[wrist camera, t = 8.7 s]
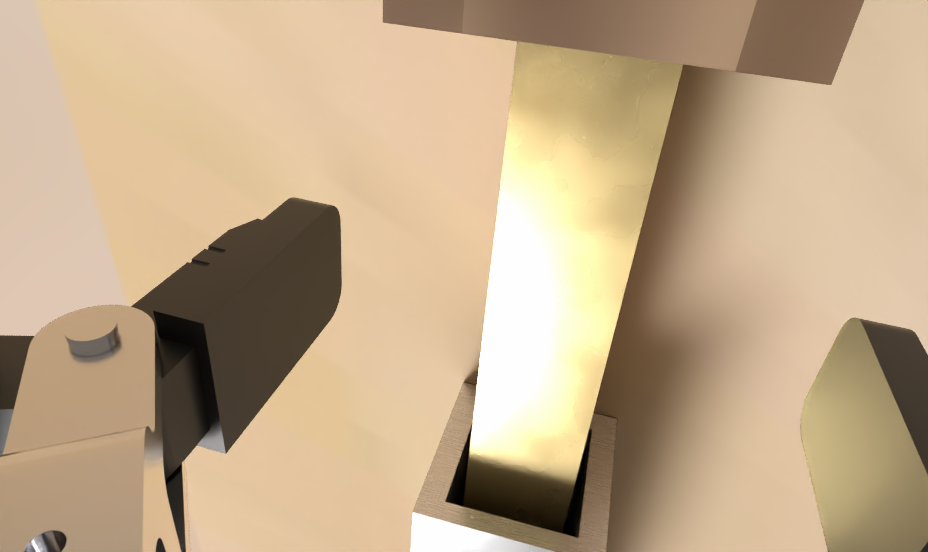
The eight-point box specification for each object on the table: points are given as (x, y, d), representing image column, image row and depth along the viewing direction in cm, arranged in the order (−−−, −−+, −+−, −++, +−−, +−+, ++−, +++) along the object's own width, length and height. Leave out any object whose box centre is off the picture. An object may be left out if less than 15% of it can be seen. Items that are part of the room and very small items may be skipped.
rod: (729, -163, 16) (747, -174, 13) (569, 477, 29) (557, 556, 26) (565, -176, 17) (541, -189, 13) (481, 455, 30) (458, 529, 26)
